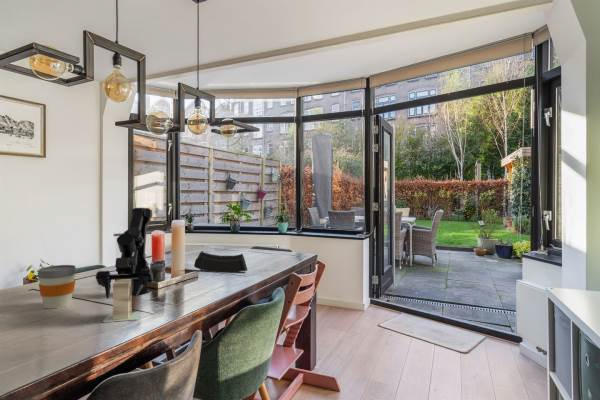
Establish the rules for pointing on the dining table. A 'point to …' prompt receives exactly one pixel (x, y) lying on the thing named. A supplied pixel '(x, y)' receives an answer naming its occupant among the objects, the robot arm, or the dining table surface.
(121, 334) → the dining table surface
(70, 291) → the reusable coffee cup
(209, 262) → the magazine
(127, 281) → the maple block
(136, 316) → the mat
